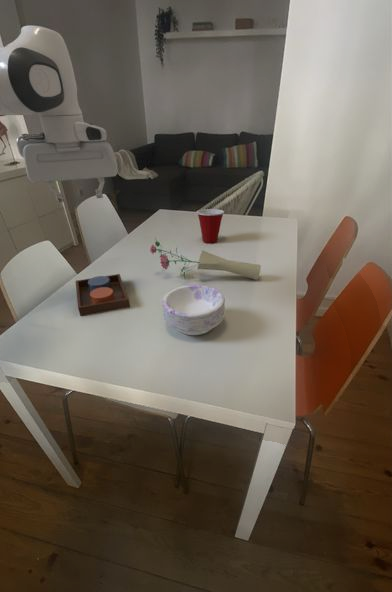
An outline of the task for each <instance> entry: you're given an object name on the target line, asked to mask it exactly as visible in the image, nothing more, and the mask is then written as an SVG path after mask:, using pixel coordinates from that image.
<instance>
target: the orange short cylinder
mask: <svg viewBox="0 0 392 592" xmlns="http://www.w3.org/2000/svg"><path fill="white" fill-rule="evenodd" d="M90 297H91V301H92V304H96V303H101V302H107V301H113V300H115V298H114V293H113V290H112V289H111V288H108V287H101V288H97V289H94V290H92V291H91V292H90Z"/></svg>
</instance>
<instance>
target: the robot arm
mask: <svg viewBox="0 0 392 592" xmlns="http://www.w3.org/2000/svg"><path fill="white" fill-rule="evenodd" d="M71 59H72V58H71V55H70V52H69V49H68V46H67V45H66V42H65V39H64V38H63V36H62V35H61V34H60V33H59V32H58V31H57V30H55V29H53V28H51V27H48V26H45V25H39V24H27V25H23V26H22V27H21V29H20V34H19V35H18V36H17V38H15V40H13V41H11V42H10V43H8V44H6V45H5V46H0V117H5V116H28V115H29V116H31V115H32V116H33V115H38V116H39V121H40V124H41V129H42V132H34V133H22V134H21V136H19V137H17V139H16V146H17V147H16V148H17V150H18V153H19V155H20V157H22V158H23V161H24V167H25V172H26V175H27V179H28V180H29V181H30V182H31V183H33V184H37V183H46V186H47V188H48V189H49V191H50V192H51V193H52V194H53V195H54V196H55V200H56V203H63V202H64V198H63V194H62V192H58V191H57V190H56V189H55V188H54V187H55V183H54V182H62V181H74V180H84V179H86V180H87V179H97V181H98V183H99V185H98V188H96V189H94V192H95V197H96V199H104V196H103V189H104V186H105V183H106V181H105V178H111V177H116V176H117V175H118V172H119V169H118V164H117V159H116V156H115V155H116V154H115V153H114V149H113V147H112V146H111V144H110V143H109V142H108V140H107V137H108V134H107V131H106V129H105V128H103V127H101V126H98V125H94V124H93V123H92V122H86V121H84V118H83V116H84V115H83V112H82V109H81V107H80V105H79V100H78V85H77V81H76V75H75V72H74V67H73V63H72V60H71ZM106 140H107V141H106Z"/></svg>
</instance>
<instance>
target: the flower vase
mask: <svg viewBox="0 0 392 592" xmlns="http://www.w3.org/2000/svg"><path fill="white" fill-rule="evenodd" d="M154 240H155V245H154V244H151V246H150V248H149V252H150V253H151V255H154V254H156V252H157V251H158V253H159V254H160V255H159V259H160V262H159V263H160V264H161V267H162V268H163V269H164V270H168V268H170V262H173V263H174V264H175V265H177V262H181V263H182V262H183V263H184V264H183V265H184V266H183V267H182V269H181V270H180V274H179V275H181V274H182V273H183V278H184V279H186V274H187V272H189V271H190V270H191V271H192V270H193V268H194V267H196V266H197V270H208V271H221V272H223V271H224V272H228V273H232V274H235V275H238V276H241V277H246V278H250V279H252V280H255V281H258V279H259V276H260V274H261V270H262V269H261V268H262V267H261V264H257V263H250V262H242V261H237V260H231V259H230V260H229V259H226V258H224V257H220V256H218V255H216V254H213V253H211V252H208V251H206V250H203V249H202V250H201V252H200V254H199V261H195V260H194V261H193V260H190V259H188V258H187V257H186V256H183V255H182V254H180V256H179V255H178V254H174V253H172V249H170V250H169V251H167V250H163V248H162V247H163V246H162V245H161V243H160V242H159V241H157V238H156V237H154ZM157 247H161V248H157ZM164 252H166V253H164ZM175 252H176V253H178V247H176V248H175ZM167 254H170V256H171V258H175V259H174V260H173V259H172V260H169V258H168V255H167ZM187 263H189V264H190V263H196V265H192V266H190V269H188V265H187ZM185 265H186V267H185ZM191 267H193V268H191ZM187 269H188V270H187Z"/></svg>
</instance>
